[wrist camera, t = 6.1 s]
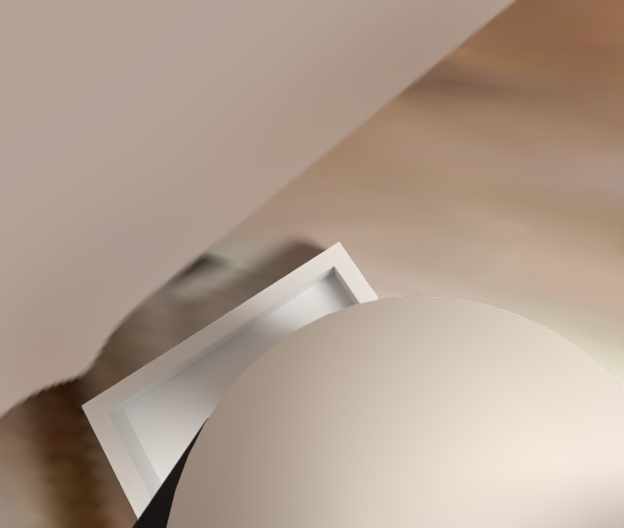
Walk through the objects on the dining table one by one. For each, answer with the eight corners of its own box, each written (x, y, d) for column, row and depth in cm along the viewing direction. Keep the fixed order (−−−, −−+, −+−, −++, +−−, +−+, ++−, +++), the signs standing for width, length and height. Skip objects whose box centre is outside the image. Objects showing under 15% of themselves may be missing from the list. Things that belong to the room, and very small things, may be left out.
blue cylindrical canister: (458, 457, 18) (855, 693, 5) (328, 541, 17) (343, 1102, 4) (377, 326, 19) (498, 210, 6) (253, 400, 19) (75, 461, 5)
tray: (501, 492, 20) (524, 508, 18) (250, 679, 19) (239, 723, 16) (337, 255, 23) (339, 241, 20) (107, 402, 21) (81, 405, 19)
